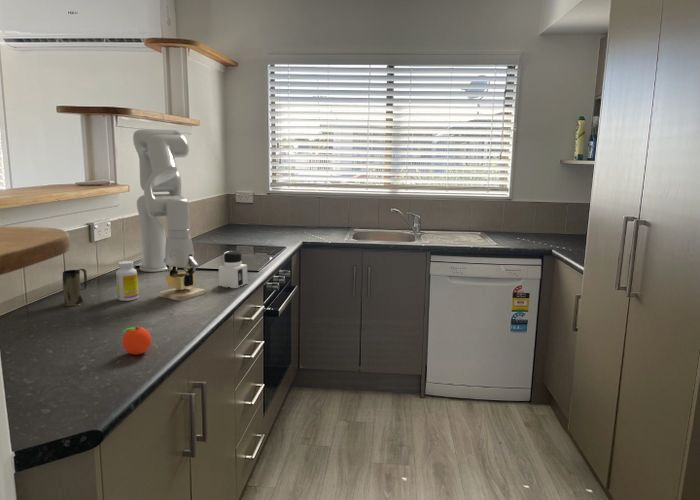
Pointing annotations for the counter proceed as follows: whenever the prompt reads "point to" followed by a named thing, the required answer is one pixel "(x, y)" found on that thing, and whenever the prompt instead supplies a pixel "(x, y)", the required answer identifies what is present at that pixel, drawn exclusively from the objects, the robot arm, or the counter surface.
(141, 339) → the clementine
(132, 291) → the supplement bottle
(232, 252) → the container
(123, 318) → the counter surface
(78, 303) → the mug
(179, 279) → the collar
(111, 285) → the counter surface
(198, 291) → the post stand
